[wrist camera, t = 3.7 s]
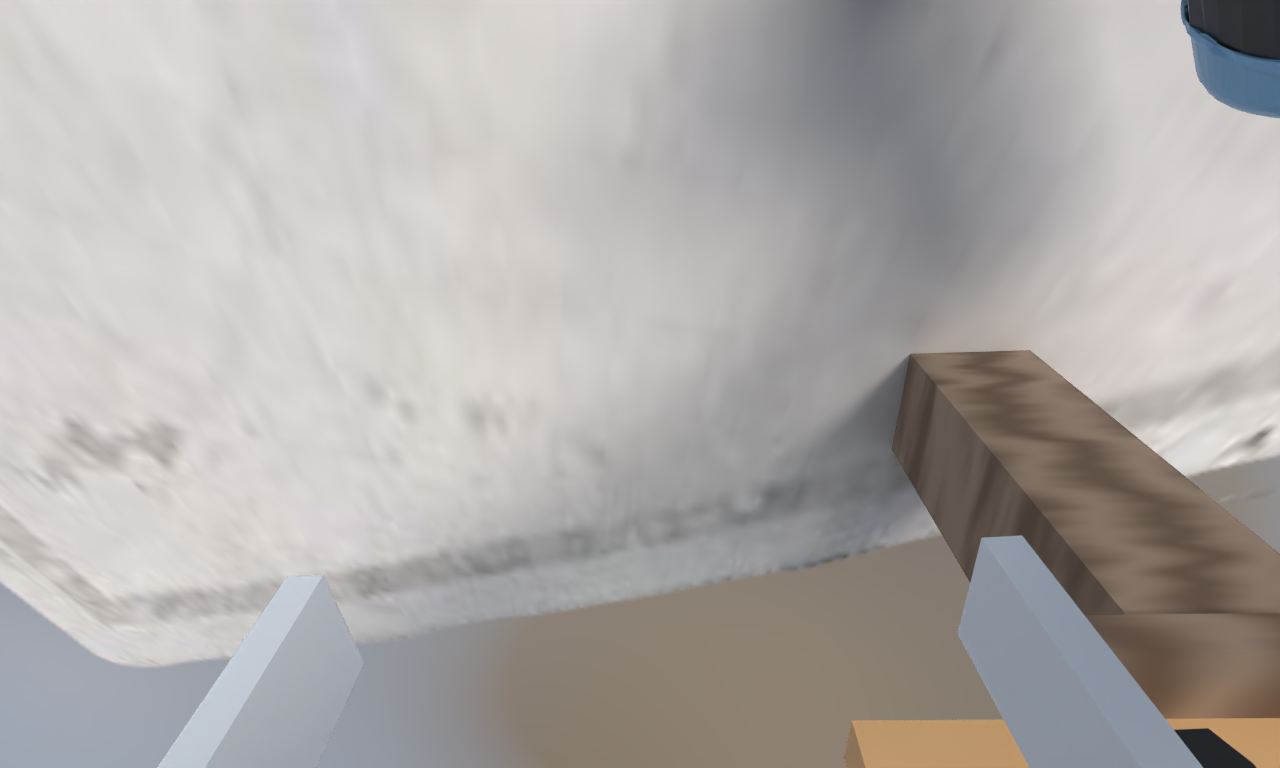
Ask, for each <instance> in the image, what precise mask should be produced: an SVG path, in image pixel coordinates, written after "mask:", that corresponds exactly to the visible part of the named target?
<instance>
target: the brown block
mask: <svg viewBox="0 0 1280 768" xmlns="http://www.w3.org/2000/svg"><path fill="white" fill-rule="evenodd" d="M1166 721H1167V722H1168V723H1169V724H1170V726H1171V727H1172V728H1173V729H1174V730H1178V729H1202V728H1209V729H1210V730H1211V731H1212V732H1214V733H1215V734H1216V735H1218V736H1219V737H1220V738H1221V739H1223V740H1224V741H1225V742H1226V743H1228V744H1229V745H1230V746H1232V747H1233V748H1234V749H1235V750H1237V751H1238V752H1239V753H1241V754H1242V755H1243V756H1244V757H1246V758H1247V759H1248V760H1250V761H1251V762H1252V763H1253V764H1254V765H1255V766H1256V767H1257V768H1280V718H1212V719H1166ZM844 759H845V763H846V767H847V768H1029V766H1028V764H1027V762H1026V760H1025V758H1024V756H1023V755H1022V753H1021V751H1020V749H1019V747H1018V745H1017V743H1016V742H1015V740H1014V738H1013V736H1012V734H1011V732H1010V730H1009V729H1008V727H1007V725H1006V723H1005V721H1004V720H877V721H876V720H874V721H852V722H851V728H850V732H849V737H848V741H847V746H846V751H845V756H844Z"/></svg>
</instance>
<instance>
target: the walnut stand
mask: <svg viewBox="0 0 1280 768" xmlns="http://www.w3.org/2000/svg"><path fill="white" fill-rule="evenodd" d="M892 450H893V452H894V454H895V455H896V457H897V459H898V460H899V462H900V464H901V465H902V467H903V469H904V471H905V472H906V474H907V476H908V477H909V479H910V481H911V483H912V484H913V486H914V488H915V489H916V491H917V493H918V495H919V496H920V498H921V500H922V501H923V503H924V505H925V506H926V508H927V510H928V512H929V513H930V515H931V517H932V518H933V520H934V522H935V524H936V525H937V527H938V529H939V530H940V532H941V534H942V535H943V537H944V539H945V541H946V542H947V544H948V546H949V547H950V549H951V551H952V552H953V554H954V556H955V558H956V559H957V561H958V563H959V564H960V566H961V568H962V569H963V571H964V573H965V575H966V576H967V578H968V580H969V582H971V578H972V574H973V570H974V566H975V562H976V558H977V554H978V550H979V546H980V542H981V538H986V537H1003V536H1021V535H1022V536H1023V537H1024V538H1025V540H1026V541H1027V542H1028V544H1029V545H1030V546H1031V547H1032V549H1033V550H1034V551H1035V553H1036V554H1037V555H1038V556H1039V558H1040V559H1041V560H1042V562H1043V563H1044V564H1045V565H1046V567H1047V568H1048V569H1049V571H1050V572H1051V573H1052V574H1053V576H1054V577H1055V578H1056V580H1057V581H1058V582H1059V583H1060V585H1061V586H1062V587H1063V588H1064V590H1065V591H1066V592H1067V594H1068V595H1069V596H1070V597H1071V599H1072V600H1073V601H1074V603H1075V604H1076V605H1077V606H1078V608H1079V609H1080V610H1081V612H1082V613H1083V614H1084V615H1085V617H1086V618H1087V619H1088V621H1089V622H1090V623H1091V624H1092V626H1093V627H1094V628H1095V629H1096V631H1097V632H1098V633H1099V635H1100V636H1101V637H1102V638H1103V640H1104V641H1105V642H1106V644H1107V645H1108V646H1109V647H1110V649H1111V650H1112V651H1113V653H1114V654H1115V655H1116V656H1117V658H1118V659H1119V660H1120V662H1121V663H1122V664H1123V665H1124V667H1125V668H1126V669H1127V671H1128V672H1129V673H1130V674H1131V676H1132V677H1133V678H1134V679H1135V681H1136V682H1137V683H1138V685H1139V686H1140V687H1141V688H1142V690H1143V691H1144V692H1145V694H1146V695H1147V696H1148V697H1149V699H1150V700H1151V701H1152V703H1153V704H1154V705H1155V706H1156V708H1157V709H1158V710H1159V712H1160V713H1161V714H1162V715H1163V717H1164V718H1165V719H1212V718H1280V554H1279V553H1278V552H1277V551H1276V550H1275V549H1273V548H1272V547H1271V546H1270V545H1268V544H1267V543H1266V542H1265V541H1264V540H1262V539H1261V538H1260V537H1259V536H1257V535H1256V534H1255V533H1254V532H1252V531H1251V530H1250V529H1249V528H1247V527H1246V526H1245V525H1244V524H1242V523H1241V522H1240V521H1239V520H1238V519H1236V518H1235V517H1234V516H1233V515H1231V514H1230V513H1229V512H1228V511H1227V510H1225V509H1224V508H1223V507H1222V506H1220V505H1219V504H1218V503H1217V502H1216V501H1214V500H1213V499H1212V498H1211V497H1209V496H1208V495H1207V494H1206V493H1205V492H1203V491H1202V490H1201V489H1200V488H1198V487H1197V486H1196V485H1195V484H1194V483H1192V482H1191V481H1190V480H1189V479H1187V478H1186V477H1185V476H1184V475H1182V474H1181V473H1180V472H1179V471H1178V470H1176V469H1175V468H1174V467H1173V466H1171V465H1170V464H1169V463H1168V462H1167V461H1165V460H1164V459H1163V458H1162V457H1160V456H1159V455H1158V454H1157V453H1155V452H1154V451H1153V450H1152V449H1151V448H1149V447H1148V446H1147V445H1146V444H1144V443H1143V442H1142V441H1141V440H1139V439H1138V438H1137V437H1136V436H1135V435H1133V434H1132V433H1131V432H1130V431H1128V430H1127V429H1126V428H1125V427H1124V426H1122V425H1121V424H1120V423H1119V422H1117V421H1116V420H1115V419H1114V418H1112V417H1111V416H1110V415H1109V414H1108V413H1106V412H1105V411H1104V410H1103V409H1101V408H1100V407H1099V406H1098V405H1096V404H1095V403H1094V402H1093V401H1092V400H1090V399H1089V398H1088V397H1087V396H1085V395H1084V394H1083V393H1082V392H1081V391H1079V390H1078V389H1077V388H1076V387H1074V386H1073V385H1072V384H1071V383H1069V382H1068V381H1067V380H1066V379H1065V378H1063V377H1062V376H1061V375H1060V374H1058V373H1057V372H1056V371H1055V370H1054V369H1052V368H1051V367H1050V366H1049V365H1047V364H1046V363H1045V362H1044V361H1042V360H1041V359H1040V358H1039V357H1038V356H1036V355H1035V354H1034V353H1033V352H1031V351H1030V350H1029V351H997V352H964V353H932V354H911V355H910V360H909V365H908V370H907V375H906V381H905V386H904V391H903V396H902V401H901V406H900V412H899V417H898V422H897V427H896V432H895V437H894V443H893V448H892Z"/></svg>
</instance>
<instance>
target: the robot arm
mask: <svg viewBox="0 0 1280 768" xmlns="http://www.w3.org/2000/svg"><path fill="white" fill-rule="evenodd" d="M1181 19H1182V22H1183V24H1184V25H1185V27H1186V30H1187V33H1188V34H1189V35H1190V36H1191V42H1192V48H1193V55H1194V61H1195V67H1196V72H1197V75H1198V78H1199V80H1200V82H1201V83H1202V84H1203V85H1204V87H1205V88H1206V89H1207V91H1208V92H1209V94H1211V95H1212V96H1213V97H1214V98H1215V99H1216V100H1218V101H1220V102H1222V103H1224V104H1226V105H1228V106H1230V107H1232V108H1234V109H1237V110H1240V111H1244V112H1247V113H1251V114H1256V115H1261V116H1267V117H1274V118H1280V0H1182V1H1181ZM958 635H959V637H960V639H961V641H962V643H963V645H964V647H965V648H966V650H967V652H968V654H969V656H970V658H971V659H972V661H973V663H974V665H975V667H976V669H977V671H978V673H979V675H980V676H981V678H982V680H983V682H984V684H985V686H986V687H987V689H988V691H989V693H990V695H991V696H992V699H993V700H994V702H995V704H996V706H997V708H998V710H999V712H1000V713H1001V715H1002V717H1003V719H1004V721H1005V723H1006V725H1007V727H1008V729H1009V730H1010V732H1011V734H1012V736H1013V738H1014V740H1015V742H1016V743H1017V745H1018V747H1019V749H1020V751H1021V753H1022V755H1023V756H1024V758H1025V760H1026V762H1027V764H1028V766H1029V768H1257V767H1256V766H1255V765H1254V764H1253V763H1252V762H1251V761H1250V760H1248V759H1247V758H1246V757H1244V756H1243V755H1242V754H1241V753H1239V752H1238V751H1237V750H1235V749H1234V748H1233V747H1232V746H1230V745H1229V744H1228V743H1226V742H1225V741H1224V740H1223V739H1221V738H1220V737H1219V736H1218V735H1216V734H1215V733H1214V732H1212V731H1211V730H1210V729H1209V728H1202V729H1178V730H1174V729H1173V728H1172V727H1171V726H1170V724H1169V723H1168V722H1167V721H1166V719H1165V718H1164V717H1163V715H1162V714H1161V713H1160V712H1159V710H1158V709H1157V708H1156V706H1155V705H1154V704H1153V703H1152V701H1151V700H1150V699H1149V697H1148V696H1147V695H1146V694H1145V692H1144V691H1143V690H1142V688H1141V687H1140V686H1139V685H1138V683H1137V682H1136V681H1135V679H1134V678H1133V677H1132V676H1131V674H1130V673H1129V672H1128V671H1127V669H1126V668H1125V667H1124V665H1123V664H1122V663H1121V662H1120V660H1119V659H1118V658H1117V656H1116V655H1115V654H1114V653H1113V651H1112V650H1111V649H1110V647H1109V646H1108V645H1107V644H1106V642H1105V641H1104V640H1103V638H1102V637H1101V636H1100V635H1099V633H1098V632H1097V631H1096V629H1095V628H1094V627H1093V626H1092V624H1091V623H1090V622H1089V621H1088V619H1087V618H1086V617H1085V615H1084V614H1083V613H1082V612H1081V610H1080V609H1079V608H1078V606H1077V605H1076V604H1075V603H1074V601H1073V600H1072V599H1071V597H1070V596H1069V595H1068V594H1067V592H1066V591H1065V590H1064V588H1063V587H1062V586H1061V585H1060V583H1059V582H1058V581H1057V580H1056V578H1055V577H1054V576H1053V574H1052V573H1051V572H1050V571H1049V569H1048V568H1047V567H1046V565H1045V564H1044V563H1043V562H1042V560H1041V559H1040V558H1039V556H1038V555H1037V554H1036V553H1035V551H1034V550H1033V549H1032V547H1031V546H1030V545H1029V544H1028V542H1027V541H1026V540H1025V538H1024V537H1023V536H1022V535H1021V536H1003V537H986V538H981V542H980V546H979V550H978V554H977V558H976V562H975V566H974V570H973V574H972V578H971V582H970V586H969V590H968V594H967V598H966V602H965V606H964V610H963V614H962V618H961V622H960V626H959V630H958ZM363 665H364V661H363V659H362V657H361V655H360V653H359V651H358V649H357V646H356V644H355V642H354V640H353V638H352V636H351V633H350V631H349V629H348V627H347V625H346V623H345V621H344V618H343V616H342V614H341V612H340V610H339V608H338V606H337V603H336V601H335V599H334V597H333V595H332V593H331V590H330V588H329V586H328V584H327V582H326V580H325V578H324V575H315V576H297V577H287V578H286V579H285V581H284V582H283V584H282V585H281V587H280V588H279V589H278V591H277V592H276V594H275V595H274V597H273V598H272V600H271V601H270V603H269V604H268V606H267V607H266V609H265V610H264V611H263V613H262V614H261V616H260V617H259V619H258V620H257V622H256V623H255V625H254V626H253V628H252V629H251V631H250V632H249V633H248V635H247V636H246V638H245V639H244V641H243V642H242V644H241V645H240V647H239V648H238V650H237V651H236V653H235V654H234V656H233V657H232V658H231V660H230V661H229V663H228V664H227V666H226V667H225V669H224V670H223V672H222V673H221V675H220V676H219V678H218V679H217V680H216V682H215V683H214V685H213V686H212V688H211V689H210V691H209V692H208V694H207V695H206V697H205V698H204V700H203V701H202V702H201V704H200V705H199V707H198V708H197V710H196V711H195V713H194V714H193V716H192V717H191V719H190V720H189V722H188V723H187V724H186V726H185V728H184V729H183V730H182V732H181V733H180V735H179V736H178V738H177V739H176V741H175V742H174V744H173V745H172V747H171V748H170V749H169V751H168V752H167V754H166V755H165V757H164V758H163V760H162V761H161V763H160V764H159V766H158V767H157V768H316V767H317V765H318V763H319V761H320V758H321V756H322V754H323V752H324V750H325V748H326V745H327V743H328V741H329V739H330V736H331V734H332V732H333V730H334V728H335V726H336V724H337V721H338V719H339V717H340V715H341V713H342V711H343V708H344V706H345V704H346V702H347V700H348V697H349V695H350V693H351V691H352V689H353V687H354V684H355V682H356V680H357V678H358V676H359V673H360V671H361V669H362V667H363Z"/></svg>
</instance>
